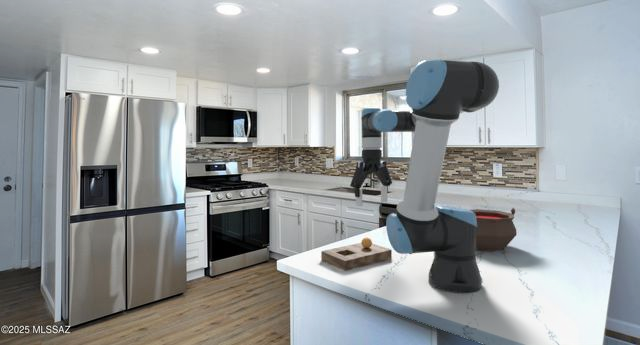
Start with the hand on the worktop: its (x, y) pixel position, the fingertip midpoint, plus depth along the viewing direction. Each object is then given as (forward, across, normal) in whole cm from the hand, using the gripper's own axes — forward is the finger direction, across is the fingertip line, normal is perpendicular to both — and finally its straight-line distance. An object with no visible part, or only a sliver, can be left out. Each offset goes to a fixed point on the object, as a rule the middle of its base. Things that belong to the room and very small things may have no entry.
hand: (372, 204), depth 138 cm
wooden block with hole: (+20, +10, +2) cm, 22 cm away
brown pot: (+20, -44, +22) cm, 53 cm away
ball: (+14, +5, +2) cm, 15 cm away
